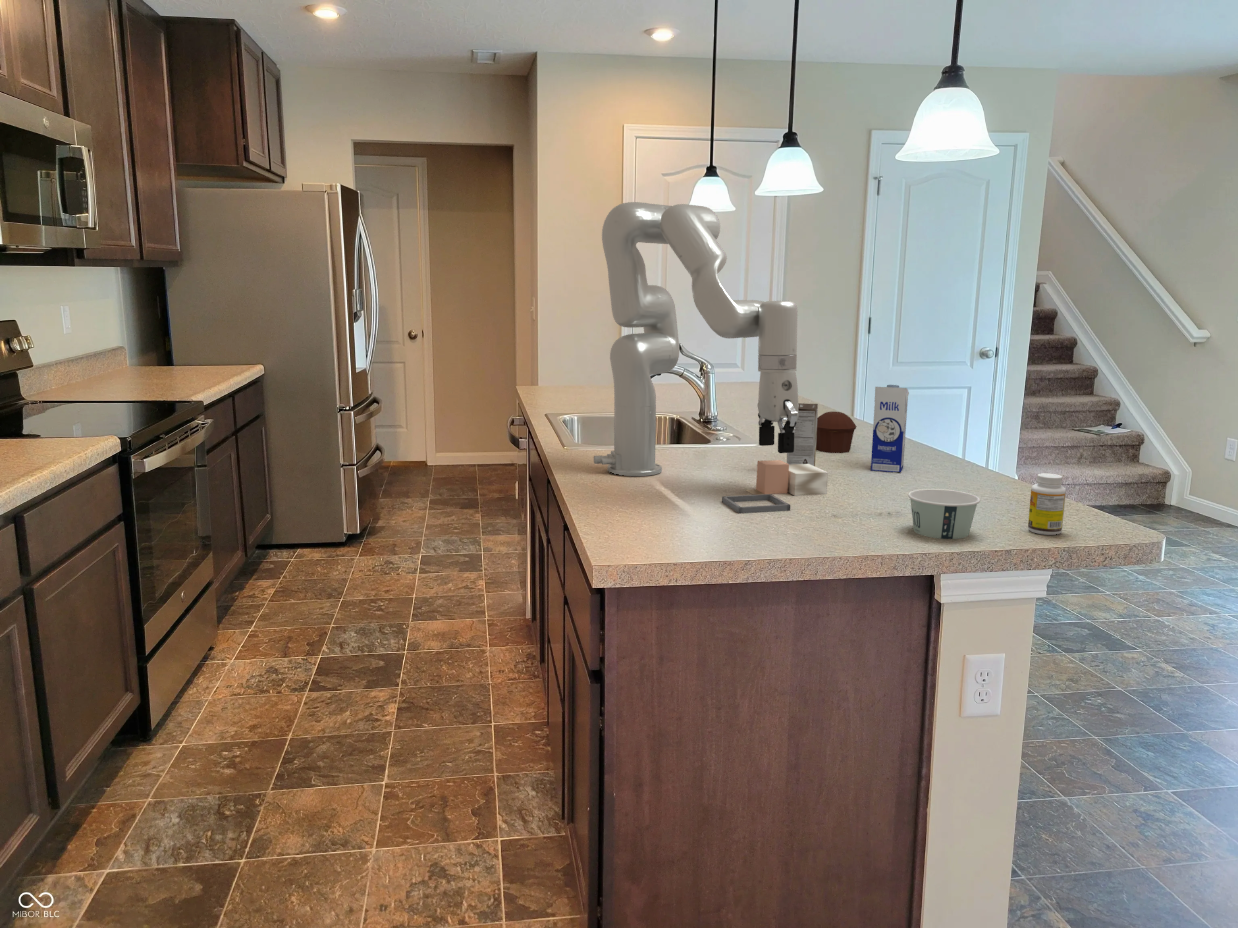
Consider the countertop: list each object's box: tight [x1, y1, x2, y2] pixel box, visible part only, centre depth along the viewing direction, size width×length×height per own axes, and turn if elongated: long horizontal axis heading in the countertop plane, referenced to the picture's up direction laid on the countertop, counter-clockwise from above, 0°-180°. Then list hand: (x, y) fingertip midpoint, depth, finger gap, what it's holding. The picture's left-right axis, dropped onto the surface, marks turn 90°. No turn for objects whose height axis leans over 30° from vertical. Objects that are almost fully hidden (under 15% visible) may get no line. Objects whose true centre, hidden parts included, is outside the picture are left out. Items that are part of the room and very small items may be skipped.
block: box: [755, 459, 789, 495], centre depth 185 cm, size 5×4×6 cm
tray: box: [721, 494, 791, 514], centre depth 173 cm, size 10×9×2 cm
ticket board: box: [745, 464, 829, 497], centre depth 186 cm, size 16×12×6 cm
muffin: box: [816, 411, 857, 454], centre depth 238 cm, size 12×11×10 cm
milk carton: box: [870, 384, 910, 473], centre depth 212 cm, size 7×7×20 cm
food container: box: [907, 488, 981, 540], centre depth 160 cm, size 12×12×6 cm
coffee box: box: [786, 402, 819, 467], centre depth 206 cm, size 9×6×16 cm
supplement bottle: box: [1027, 472, 1067, 536], centre depth 160 cm, size 6×6×10 cm
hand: (775, 448), depth 183 cm, fingers open, 9 cm apart
